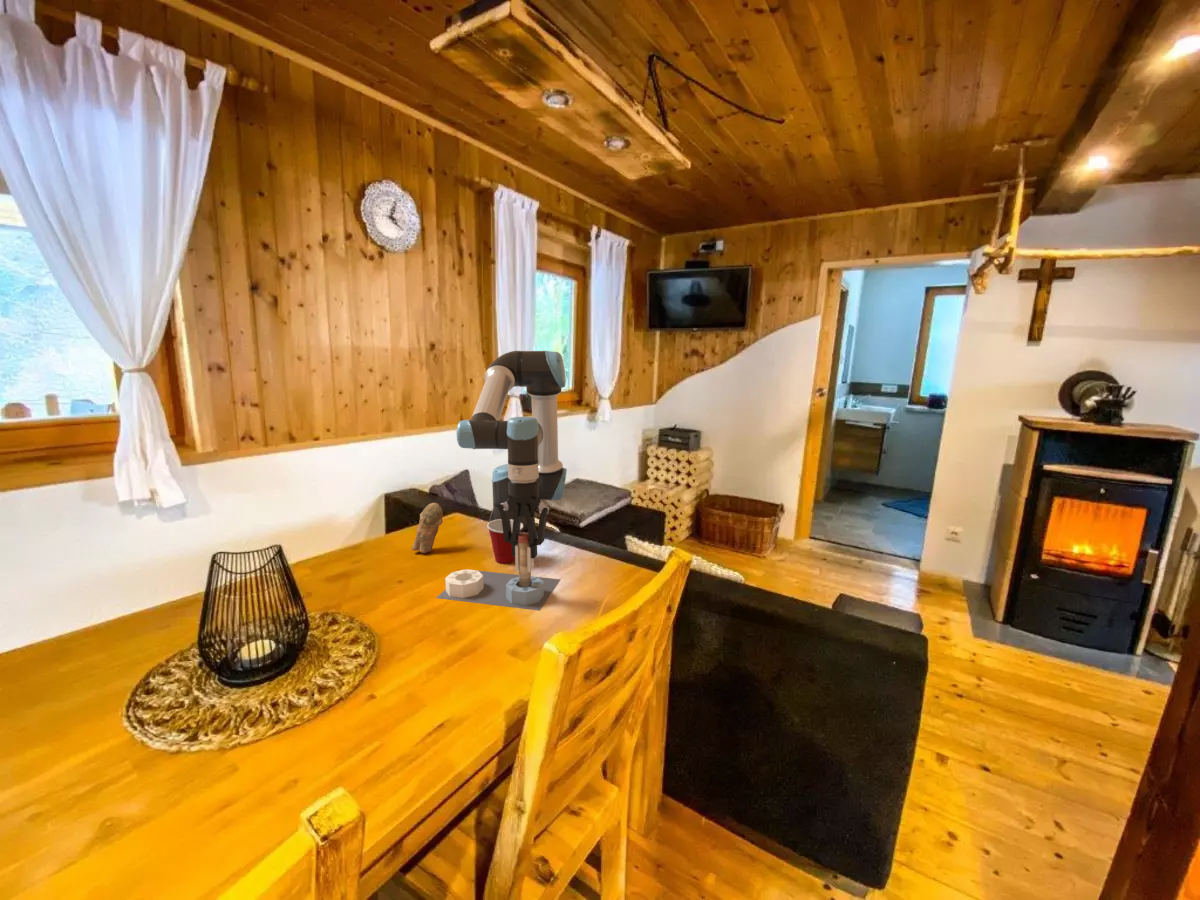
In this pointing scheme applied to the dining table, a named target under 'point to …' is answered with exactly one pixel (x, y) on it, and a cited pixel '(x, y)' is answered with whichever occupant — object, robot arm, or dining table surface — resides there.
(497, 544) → the plastic cup
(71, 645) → the dining table surface
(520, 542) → the dowel
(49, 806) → the dining table surface
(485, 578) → the felt mat
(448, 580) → the bead white
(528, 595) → the bead blue
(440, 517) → the figurine
